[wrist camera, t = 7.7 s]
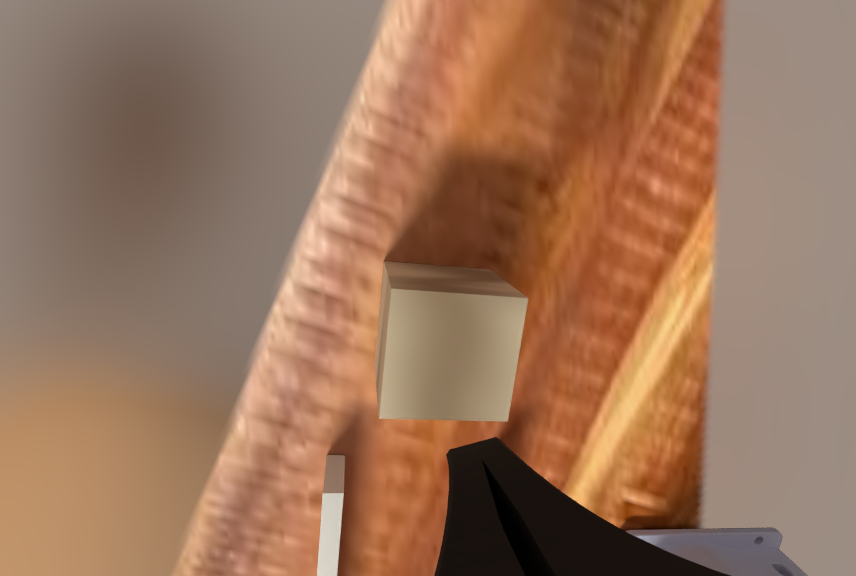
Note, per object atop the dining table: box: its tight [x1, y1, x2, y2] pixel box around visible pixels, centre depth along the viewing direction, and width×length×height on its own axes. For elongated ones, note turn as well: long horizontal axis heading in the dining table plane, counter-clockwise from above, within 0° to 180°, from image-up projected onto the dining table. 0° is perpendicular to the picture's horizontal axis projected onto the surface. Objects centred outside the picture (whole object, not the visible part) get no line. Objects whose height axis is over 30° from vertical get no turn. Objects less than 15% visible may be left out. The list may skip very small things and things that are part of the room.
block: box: [375, 261, 528, 421], centre depth 17 cm, size 4×4×4 cm
